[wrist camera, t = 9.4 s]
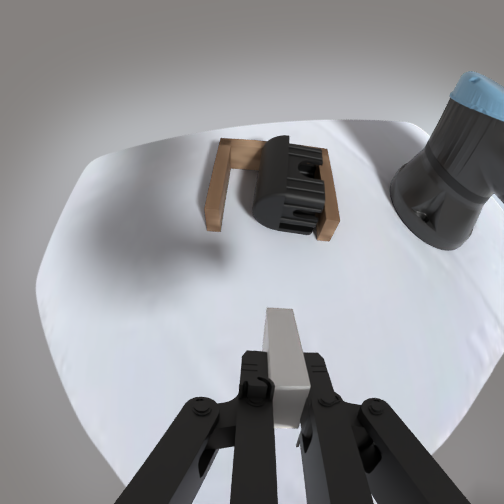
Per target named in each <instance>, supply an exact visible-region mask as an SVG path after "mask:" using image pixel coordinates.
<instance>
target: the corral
mask: <svg viewBox="0 0 504 504" xmlns="http://www.w3.org/2000/svg"><path fill="white" fill-rule="evenodd" d="M266 142H267V141H257V140H244V139H227V138H221V139H220V143H219V147H218V151H217V155H216V159H215V163H214V167H213V172H212V176H211V180H210V185H209V189H208V194H207V198H206V203H205V208H204V210H205V218H206V225H207V231H215V232H221V225H222V219H223V212H224V206H225V200H226V194H227V188H228V182H229V176H230V170H231V168H232V169H246V170H259V165H260V159H261V153H262V148H263V146H264V145H265V143H266ZM302 146H303V145H302ZM308 147H311V146H308ZM314 148H318V147H314ZM319 149H322V157H323V164H322V166H321V165H316V170H315V173H314V179H318V180H324V184H325V205H324V207H323V210H322V212H321V213H317V212H315V217H318V222H317V225H316V232H317V240H320V241H330V239H331V237H332V236H333V234H334V232H335V230H336V228H337V226H338V224H339V222H340V217H339V211H338V204H337V198H336V192H335V187H334V181H333V176H332V170H331V165H330V160H329V155H328V150H327V149H324V148H319ZM307 164H309V163H307ZM313 165H315V164H313Z"/></svg>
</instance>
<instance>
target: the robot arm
mask: <svg viewBox="0 0 504 504" xmlns="http://www.w3.org/2000/svg"><path fill="white" fill-rule="evenodd" d="M390 193H391V198H392V202H393V204H394V207H395V209H396V211H397V213H398V214H399V216H400V217H401V219H402V220H403V222H404V223H405V224H406V225H407V226H408V228H409V229H410V230H411V231H412V232H413V233H414V234H415V235H417V236H418V237H419V238H420V239H422V240H423V241H424V242H426V243H427V244H429V245H431V246H433V247H435V248H438V249H441V250H455V249H457V248H459V247H460V246H461V245H462V244H463V243H464V242H465V241H466V240H467V239H468V238H469V237H470V235H471V233H472V230H473V227H474V225H475V223H476V221H477V219H478V217H479V214H480V212H481V210H482V207H483V205H484V204H485V203H486V201H487V200H488V199H489V198H490V197H491V196H492V194H495V195H496V196H497V197H498V198H499V199H500V200H501V201H502V202H503V203H504V87H503V86H501V85H500V84H498V83H497V82H495V81H493V80H491V79H490V78H488V77H486V76H484V75H482V74H479V73H477V72H472V71H471V72H470V71H469V72H466V73H464V74H463V75H462V76H461V78H460V80H459V82H458V83H457V85H456V87H455V89H454V91H452V92H451V93H450V100H449V102H448V104H447V106H446V108H445V110H444V112H443V114H442V116H441V118H440V120H439V122H438V124H437V126H436V128H435V129H434V131H433V133H432V135H431V137H430V139H429V140H428V142H427V144H426V146H425V148H424V149H423V150H422V151H421V152H420V153H419V154H417V155H416V156H415V157H414V158H413V159H412V160H411V161H410V162H409V163H407V164H405V165H403V166H402V167H401V168H400V169H399V170H398V171H397V173H396V175H395V177H394V178H393V180H392V182H391V186H390ZM262 351H263V352H262ZM262 351H246V352H245V353H244V355H243V356H242V364H241V375H240V384H239V393H238V395H237V396H236V398H234V399H233V400H231V401H229V402H225V403H218V404H217V403H216V402H215V401H214V400H212V399H210V398H207V397H195V398H193V399H190V400H189V401H188V402H187V403H185V405H184V406H183V408H182V409H181V411H180V412H179V414H178V415H177V417H176V418H175V419H174V421H173V422H172V424H171V425H170V427H169V428H168V430H167V431H166V432H165V434H164V435H163V437H162V438H161V440H160V441H159V442H158V444H157V445H156V447H155V448H154V450H153V451H152V452H151V454H150V455H149V457H148V458H147V459H146V461H145V462H144V464H143V465H142V466H141V468H140V469H139V471H138V472H137V473H136V475H135V476H134V477H133V479H132V480H131V481H130V483H129V484H128V486H127V487H126V488H125V490H124V491H123V492H122V494H121V495H120V496H119V498H118V499H117V500H116V502H115V503H114V504H192V502H193V500H194V498H195V496H196V494H197V493H198V491H199V489H200V487H201V485H202V483H203V481H204V479H205V477H206V475H207V473H208V471H209V469H210V467H211V465H212V463H213V461H214V459H215V457H216V455H217V453H218V450H219V449H221V448H227V447H233V446H234V459H233V471H232V484H231V496H230V504H278V497H277V475H276V454H275V435H274V428H279V429H295V428H298V427H299V424H300V423H301V432H300V435H299V438H298V441H297V444H296V447H299V444H300V447H301V455H302V464H303V472H304V481H305V489H306V498H307V504H374V503H373V499H372V496H373V497H374V499H375V500H376V502H377V504H471V503H470V502H469V501H468V500H467V499H466V497H465V496H464V495H463V494H462V492H461V491H460V490H459V489H458V488H457V486H456V485H455V484H454V483H453V482H452V480H451V479H450V478H449V477H448V476H447V474H446V473H445V472H444V471H443V469H442V468H441V467H440V466H439V464H438V463H437V462H436V461H435V460H434V458H433V457H432V456H431V455H430V454H429V452H428V451H427V450H426V449H425V448H424V446H423V445H422V444H421V443H420V441H419V440H418V439H417V438H416V437H415V435H414V434H413V433H412V432H411V431H410V429H409V428H408V427H407V426H406V425H405V423H404V422H403V421H402V420H401V419H400V417H399V416H398V415H397V414H396V413H395V412H394V410H393V409H392V408H391V407H390V406H389V404H388V403H386V402H385V401H384V400H381V399H378V398H370V399H367V400H365V401H364V402H363V403H362V405H357V404H351V403H347V402H344V401H343V400H342V398H341V396H340V395H338V394H337V393H335V392H334V390H333V387H332V383H331V380H330V377H329V374H328V371H327V368H326V365H325V362H324V359H323V358H322V357H321V356H320V355H319V354H318V353H303V350H302V346H301V342H300V338H299V334H298V329H297V325H296V321H295V317H294V313H293V309H282V308H267V310H266V319H265V328H264V337H263V345H262ZM371 494H372V495H371Z"/></svg>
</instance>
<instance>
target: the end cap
mask: <svg viewBox="0 0 504 504" xmlns="http://www.w3.org/2000/svg"><path fill="white" fill-rule="evenodd" d="M307 163H309V164H307ZM313 164H315V165H313ZM322 164H323V157H322V149H319V148H314V147H308V146H302V145H296V144H290V143H289V136H286V135H283V136H277V137H274V138H272V139H270V140H269V141H267V142H266V143H265V145H264V146H263V148H262V153H261V159H260V165H259V171H258V177H257V183H256V189H255V195H254V201H253V207H252V211H253V215H254V217H255V219H256V220H257V221H258V222H259V223H260V224H262V225H263V226H265V227H267V228H270V229H273V230H277V231H283V232H290V233H297V234H303V235H310V234H311V233H312V230H313V227H314V228H315V227H316V225H317V222H318V217H315V212H317V213H321V212H322V210H323V207H324V205H325V184H324V180H318V179H314V173H315V170H316V165H321V166H322Z"/></svg>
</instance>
